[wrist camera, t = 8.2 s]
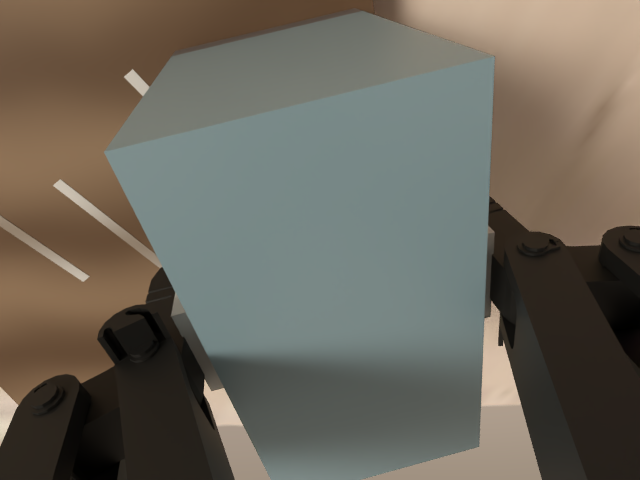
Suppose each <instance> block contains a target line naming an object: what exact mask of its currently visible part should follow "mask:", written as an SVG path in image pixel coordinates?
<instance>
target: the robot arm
mask: <svg viewBox="0 0 640 480" xmlns="http://www.w3.org/2000/svg"><path fill="white" fill-rule="evenodd" d="M148 293H149V294H147V298H146V301H145V302H146V304H141V305H134V306H131V307H128V308H125V309H123V310H121V311H120V312H118V313H116V314H114V315H113V316H112V317H111V318H110V319H108V320H107V321H106V322H105V323H104V325H103V326H102V327H101V329H100V330H99V333H98V337H97V340H98V342H99V343H100V344H101V346H102V347H103V349H104V350H105V351H106V353H107V354H108V356H109V357H110V358H111V360H112V361H113V363H114V364H115V365H114V366H113V367H111V368H110V369H108V370H106V371H105V372H103V373H101V374H99V375H97V376H95V377H93V378H91V379H89V380H87V381H85V382H83V383H80V382H79V380H78V379H77V378H76V377H75V376H74V375H69V374H63V375H57V376H54V377H52V378H50V379H48V380H45V381H43V382H42V383H41V384H39V385H38V386H36V387H35V388H33V389H32V390H31V391H30V392H29V393H28V394H27V395H26V396H25V397H24V398H23V399H22V401H21V403H20V404H19V406H18V407H17V409H16V411H15V414H14V416H13V418H12V421H11V423H10V425H9V428H8V430H7V432H6V435H5V437H4V439H3V442H2V444H1V446H0V480H234V476H233V473H232V470H231V467H230V465H229V462H228V458H227V455H226V453H225V450H224V446H223V443H222V441H221V438H220V435H219V432H218V429H217V426H216V423H215V420H214V417H213V414H212V411H211V408H210V405H209V403H208V401H207V399H206V397H205V396H204V394H203V392H204V379H205V380H206V382H207V384H208V386H209V387H210V389H211V391H214V390H217V389H221V388H224V386H223V385H222V383H221V381H220V379H219V377H218V375H217V373H216V371H215V369H214V367H213V365H212V363H211V361H210V359H209V357H208V355H207V353H206V351H205V349H204V347H203V345H202V343H201V341H200V339H199V338H198V336H197V334H196V332H195V330H194V328H193V326H192V324H191V322H190V320H189V318H188V316H187V314H186V312H185V310H184V308H183V306H182V304H181V302H180V300H179V298H178V296H177V294H176V292H175V290H174V289H173V287H172V285H171V283H170V281H169V279H168V277H167V275H166V273H165V271H164V269H163V267H161V268H160V269H159V270H158V272H157V273H156V274H155V276H154V277H153V278H152V279H151V283H150V286H149V290H148ZM491 300H492V302H493V303H494V304H495V306H496V307H497V308H498V310H499V311H500V323H499V337H498V346H503V340H504V343H505V347H506V351H507V354H508V358H509V361H510V365H511V369H512V372H513V376H514V380H515V383H516V387H517V390H518V394H519V398H520V401H521V405H522V408H523V412H524V416H525V419H526V423H527V427H528V430H529V434H530V438H531V441H532V445H533V448H534V452H535V456H536V459H537V462H538V466H539V470H540V473H541V477H542V480H640V227H639V226H622V227H616V228H613V229H610V230H608V231H607V232H606V233H605V234H604V235H603V238H602V242H601V245H598V246H565V245H564V243H563V242H562V241H561V240H560V239H558V238H556V237H554V236H552V235H550V234H546V233H542V232H529V231H528V230H527V229H526V228H525V227H524V226H522V225H521V224H520V223H519V222H518V221H517V220H516V219H515V218H513V217H512V216H511V215H510V214H509V213H508V212H507V211H506V210H503V208H502V207H501V206H500V205H499V204H498V203H496V202H495V200H493V199H492V198H491V197H490V196H489V213H488V238H487V263H486V288H485V313H484V318H487V317H490V315H491Z"/></svg>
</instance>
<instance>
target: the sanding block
mask: <svg viewBox="0 0 640 480" xmlns="http://www.w3.org/2000/svg"><path fill="white" fill-rule="evenodd" d="M494 63H495V56H492V55H489V54H487V53H484V52H481V51H478V50H475V49H472V48H469V47H466V46H463V45H460V44H458V43H455V42H452V41H449V40H446V39H443V38H440V37H437V36H434V35H431V34H429V33H426V32H423V31H420V30H417V29H414V28H411V27H408V26H405V25H402V24H400V23H397V22H394V21H391V20H388V19H385V18H382V17H379V16H376V15H373V14H371V13H368V12H365V11H362V10H359V9H356V8H354V9H349V10H345V11H341V12H337V13H333V14H328V15H324V16H320V17H316V18H312V19H307V20H303V21H299V22H295V23H291V24H286V25H282V26H278V27H274V28H270V29H265V30H261V31H257V32H253V33H249V34H244V35H240V36H236V37H232V38H228V39H223V40H219V41H215V42H211V43H207V44H202V45H198V46H194V47H190V48H186V49H181V50H177V51H175V52H174V53H173V55H172V56H171V58H170V59H169V61H168V62H167V63H166V65H165V66H164V68H163V69H162V70H161V72H160V73H159V75H158V76H157V77H156V79H155V80H154V82H153V83H152V85H151V86H150V87H149V89H148V90H147V92H146V93H145V94H144V96H143V97H142V99H141V100H140V102H139V103H138V104H137V106H136V107H135V109H134V110H133V111H132V113H131V114H130V116H129V117H128V119H127V120H126V121H125V123H124V124H123V126H122V127H121V128H120V130H119V131H118V133H117V134H116V136H115V137H114V138H113V140H112V141H111V143H110V144H109V145H108V147H107V148H106V150H105V151H104V153H105V155H106V157H107V159H108V161H109V163H110V165H111V167H112V169H113V171H114V173H115V175H116V177H117V179H118V181H119V183H120V185H121V187H122V189H123V191H124V193H125V195H126V196H127V198H128V200H129V202H130V204H131V206H132V208H133V210H134V212H135V214H136V216H137V218H138V220H139V222H140V224H141V226H142V228H143V230H144V232H145V234H146V236H147V238H148V240H149V242H150V243H151V245H152V247H153V249H154V251H155V253H156V255H157V257H158V259H159V261H160V263H161V265H162V267H163V269H164V271H165V273H166V275H167V277H168V279H169V281H170V283H171V285H172V287H173V289H174V290H175V292H176V294H177V296H178V298H179V300H180V302H181V304H182V306H183V308H184V310H185V312H186V314H187V316H188V318H189V320H190V322H191V324H192V326H193V328H194V330H195V332H196V334H197V336H198V338H199V339H200V341H201V343H202V345H203V347H204V349H205V351H206V353H207V355H208V357H209V359H210V361H211V363H212V365H213V367H214V369H215V371H216V373H217V375H218V377H219V379H220V381H221V383H222V385H223V386H224V388H225V390H226V392H227V394H228V396H229V398H230V400H231V402H232V404H233V406H234V408H235V410H236V412H237V414H238V416H239V418H240V420H241V422H242V424H243V426H244V428H245V429H246V431H247V433H248V435H249V437H250V439H251V441H252V443H253V445H254V447H255V449H256V451H257V453H258V455H259V457H260V459H261V461H262V463H263V465H264V467H265V469H266V471H267V473H268V475H269V477H270V479H271V480H361V479H365V478H368V477H372V476H376V475H379V474H382V473H386V472H389V471H393V470H397V469H401V468H404V467H408V466H412V465H415V464H419V463H422V462H426V461H430V460H433V459H437V458H440V457H444V456H447V455H451V454H455V453H458V452H462V451H466V450H469V449H473V448H476V447H479V438H480V412H481V388H482V363H483V338H484V313H485V288H486V263H487V238H488V213H489V188H490V163H491V138H492V113H493V88H494Z"/></svg>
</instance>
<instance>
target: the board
mask: <svg viewBox="0 0 640 480" xmlns="http://www.w3.org/2000/svg"><path fill="white" fill-rule="evenodd" d="M354 8H356V9H359V10H362V11H365V12H368V13H371V14H373V15H374V5H373V0H0V387H1V388H2V389H3V390H4V391H5V392H6V393H7V394H8V395H9V396H10V397H11V398H12V399H13V400H14V401H15V402H16V403H17V404H18V405H19V404H20V403H21V401H22V399H23V398H24V397H25V396H26V395H27V394H28V393H29V392H30V391H31V390H32V389H33V388H35V387H36V386H38V385H39V384H41V383H42V382H43V381H45V380H48V379H50V378H52V377H54V376H57V375H63V374H69V375H74V376H75V377H76V378H77V379H78V380H79V382H80V383H83V382H85V381H87V380H89V379H91V378H93V377H95V376H97V375H99V374H101V373H103V372H105V371H106V370H108V369H110V368H111V367H113V366H114V365H115V364H114V363H113V361H112V360H111V358H110V357H109V356H108V354H107V353H106V351H105V350H104V349H103V347H102V346H101V344H100V343H99V342H98V340H97V337H98V333H99V330H100V329H101V327H102V326H103V325H104V323H105V322H106V321H107V320H108V319H110V318H111V317H112V316H113V315H114V314H116V313H118V312H120V311H121V310H123V309H125V308H128V307H131V306H134V305H141V304H146V302H145V301H146V298H147V294H149V293H148V290H149V286H150V283H151V279H152V278H153V277H154V276H155V274H156V273H157V272H158V270H159V269H160V268H161V267H162V265H161V263H160V261H159V259H158V257H157V255H156V253H155V251H154V249H153V247H152V245H151V243H150V242H149V240H148V238H147V236H146V234H145V232H144V230H143V228H142V226H141V224H140V222H139V220H138V218H137V216H136V214H135V212H134V210H133V208H132V206H131V204H130V202H129V200H128V198H127V196H126V195H125V193H124V191H123V189H122V187H121V185H120V183H119V181H118V179H117V177H116V175H115V173H114V171H113V169H112V167H111V165H110V163H109V161H108V159H107V157H106V155H105V153H104V151H105V150H106V148H107V147H108V145H109V144H110V143H111V141H112V140H113V138H114V137H115V136H116V134H117V133H118V131H119V130H120V128H121V127H122V126H123V124H124V123H125V121H126V120H127V119H128V117H129V116H130V114H131V113H132V111H133V110H134V109H135V107H136V106H137V104H138V103H139V102H140V100H141V99H142V97H143V96H144V94H145V93H146V92H147V90H148V89H149V87H150V86H151V85H152V83H153V82H154V80H155V79H156V77H157V76H158V75H159V73H160V72H161V70H162V69H163V68H164V66H165V65H166V63H167V62H168V61H169V59H170V58H171V56H172V55H173V53H174V52H175V51H177V50H181V49H186V48H190V47H194V46H198V45H202V44H207V43H211V42H215V41H219V40H223V39H228V38H232V37H236V36H240V35H244V34H249V33H253V32H257V31H261V30H265V29H270V28H274V27H278V26H282V25H286V24H291V23H295V22H299V21H303V20H307V19H312V18H316V17H320V16H324V15H328V14H333V13H337V12H341V11H345V10H349V9H354Z"/></svg>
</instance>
